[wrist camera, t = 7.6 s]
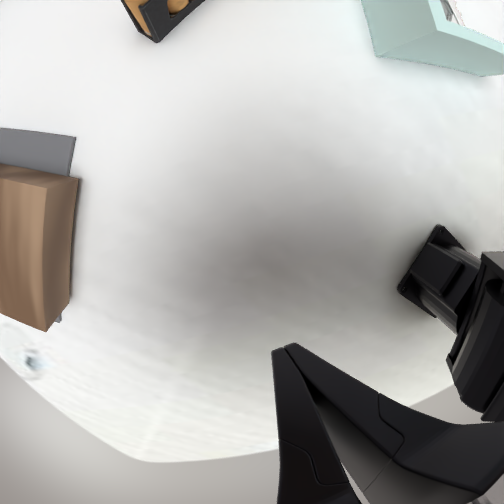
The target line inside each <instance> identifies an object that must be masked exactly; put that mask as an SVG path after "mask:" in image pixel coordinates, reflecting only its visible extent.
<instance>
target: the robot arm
mask: <svg viewBox="0 0 504 504" xmlns="http://www.w3.org/2000/svg"><path fill="white" fill-rule="evenodd" d="M440 230H441V232H440ZM439 232H440V233H439ZM404 287H405V288H404ZM403 288H404V289H403ZM397 290H398V292H399V293H400V294H401V295H402V296H404V297H405V298H407V299H408V300H410V301H411V302H413V303H414V304H415V305H417V306H418V307H420V308H421V309H423V310H424V311H426V312H427V313H428V314H430V315H431V316H433V317H434V318H437V317H438V318H439V319H440V320H441V321H442V322H443V323H444V324H445V325H446V326H448V327H449V328H450V329H451V330H452V331H453V332H454V333H455V334H456V335H457V337H456V340H455V342H454V344H453V347H452V349H451V352H450V353H449V354H448V356H447V358H446V362H447V364H448V367H449V369H450V372H451V374H452V378H453V381H454V384H455V386H456V388H457V390H458V393H459V395H460V399H461V401H462V402H463V403H464V404H465V405H467V406H468V407H469V408H471V409H473V410H475V411H477V412H480V413H483V415H482V417H481V420H482V421H490V422H492V423H481V424H467V425H461V424H452V423H448V422H445V421H442V420H440V419H437V418H434V417H431V416H429V415H426V414H424V413H421V412H418V411H416V410H413V409H411V408H409V407H406V406H404V405H402V404H400V403H398V402H396V401H394V400H392V399H390V398H388V397H386V396H385V395H383V394H381V393H379V394H378V392H377V391H376V390H374V389H372V388H370V387H369V386H367V385H365V384H363V383H362V382H360V381H358V380H357V379H355V378H353V377H351V376H350V375H348V374H346V373H345V372H343V371H341V370H340V369H338V368H336V367H335V366H333V365H331V364H330V363H328V362H326V361H325V360H323V359H322V358H320V357H318V356H317V355H315V354H313V353H312V352H310V351H309V350H307V349H305V348H304V347H302V346H301V345H299V344H297V343H291V344H288V345H286V346H284V348H283V347H280V348H278V349H275V350H272V351H271V357H272V368H273V379H274V391H275V403H276V415H277V427H278V439H279V456H280V472H279V486H278V496H277V504H362V503H361V502H360V500H359V499H358V497H357V496H356V494H355V492H354V490H353V488H352V487H351V484H350V483H349V480H348V477H347V475H346V473H345V471H344V468H343V466H342V464H343V465H344V467H345V468H346V470H347V471H348V473H349V474H350V476H351V477H352V478H353V480H354V481H355V483H356V484H357V486H358V487H359V489H360V490H361V491H362V492H363V494H364V496H365V497H366V499H367V500H368V502H369V503H370V504H504V252H482V255H481V259H479V258H477V257H475V256H474V255H472V254H470V253H468V252H467V251H466V250H465V249H464V248H463V247H462V246H461V244H460V243H459V242H458V241H457V240H456V239H455V238H454V237H453V236H452V234H451V233H450V232H449V231H448V230H447V229H446V228H445V227H444V226H441V225H438V226H437V227H436V228H435V230H434V231H433V233H432V235H431V236H430V238H429V240H428V241H427V243H426V244H425V246H424V248H423V249H422V251H421V252H420V254H419V256H418V257H417V259H416V260H415V262H414V263H413V265H412V266H411V268H410V269H409V271H408V272H407V274H406V275H405V277H404V278H403V280H402V281H401V283H400V284H399V286H398V289H397ZM340 461H341V462H342V464H341V462H340Z"/></svg>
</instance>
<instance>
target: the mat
mask: <svg viewBox="0 0 504 504" xmlns="http://www.w3.org/2000/svg"><path fill="white" fill-rule="evenodd" d="M75 140H76V137H71V136H64V135H57V134H50V133H42V132H34V131H26V130H16V129H6V128H0V164H6V165H11V166H17V167H22V168H27V169H33V170H38V171H43V172H48V173H53V174H58V175H63V176H68V177H69V171H70V166H71V160H72V155H73V150H74V145H75ZM60 321H61V314H60V315H59V316H58V317H57V319H56V320H55V322H58V323H60Z"/></svg>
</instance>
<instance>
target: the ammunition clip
mask: <svg viewBox="0 0 504 504" xmlns="http://www.w3.org/2000/svg"><path fill="white" fill-rule="evenodd" d="M204 1H205V0H121V2H122V3H123V5H124V7H125V9H126V11H127V12H128V14H129V16H130V18H131V19H132V21H133V23H134V25H135V27H136V28H137V30H138V32H140V33H142V34H143V35H145V36H146V37H148V38H150V39H151V40H153V41H154V42H156V43H158V42H160V41H161V40H162V39H163V38H164V37H165V36H166V35H167V34H168V33H169V32H170V31H171V30H172V29H173V28H174V27H176V26H177V25H178V24H179V23H180V22H181V21H182V20H183V19H184V18H185V17H186V16H187V15H189V14H190V13H191V12H192V11H193V10H194V9H195V8H196V7H198V6H199V5H200V4H201V3H202V2H204Z"/></svg>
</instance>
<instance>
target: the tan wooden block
mask: <svg viewBox="0 0 504 504" xmlns="http://www.w3.org/2000/svg"><path fill="white" fill-rule="evenodd" d="M78 181H79V179H77V178H73V177H68V176H63V175H58V174H53V173H48V172H43V171H38V170H33V169H27V168H22V167H17V166H11V165H6V164H0V313H1V314H3V315H6V316H8V317H10V318H12V319H15V320H17V321H19V322H22V323H24V324H26V325H29V326H31V327H34V328H36V329H39V330H41V331H44V332H47V330H48V329H49V328H50V326H51V325H52V324H53V323H54V321H55V320H56V319H57V317H58V316H59V315H60V314H61V312H62V311H63V310H64V309H65V307H66V306H67V305H68V304H69V280H70V254H71V240H72V228H73V218H74V210H75V202H76V194H77V188H78Z"/></svg>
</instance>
